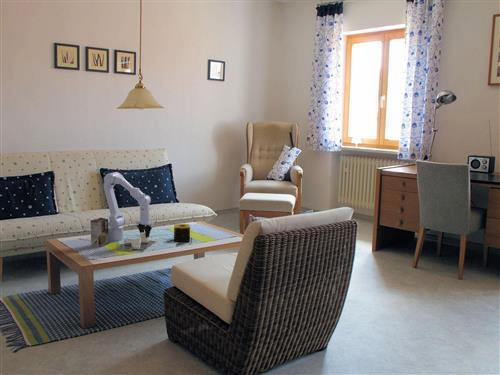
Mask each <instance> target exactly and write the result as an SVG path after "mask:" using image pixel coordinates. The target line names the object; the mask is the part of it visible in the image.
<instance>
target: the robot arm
mask: <svg viewBox="0 0 500 375" xmlns="http://www.w3.org/2000/svg"><path fill="white" fill-rule="evenodd" d="M116 185H121V186H122V187H123V188H124V189H126V190H127V191H128V192H129V194H130V196H132V198H133V199H134V200H136V201H137V203H138V205H139V219H138V220H135V224H137V225H136V228H138V231H139V234H140V233H144V232H145V236H146V237H149V238H150V235H151V234H150V233H151V231H152V229H153V228H154V227H155V223H153V222H151V220H150V204H151V202H152V198H151V196H150V195H148V194H146V193H144V192H142V191H141V189H140V188H139V187H134V186H133V185H132V184H131V183H130V182H128V181H127V180H126V179H125V177H124V176H123V174H121V173H120V172H119V171H114V172H111V173H106V175H105V176H104V177H103V191H104V194H105V199H106V203H107V206H108V209H109V213H110V215H109V217H108V226H109V227H108V232H109V244H110V243H113V242H119V241H123V240H124V226H125V224H126V219H125V217H124V215H123V214H122V213H121V212H120V210H119V205H118V202H117V198H116V194H115V191H114V187H115V186H116Z"/></svg>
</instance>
